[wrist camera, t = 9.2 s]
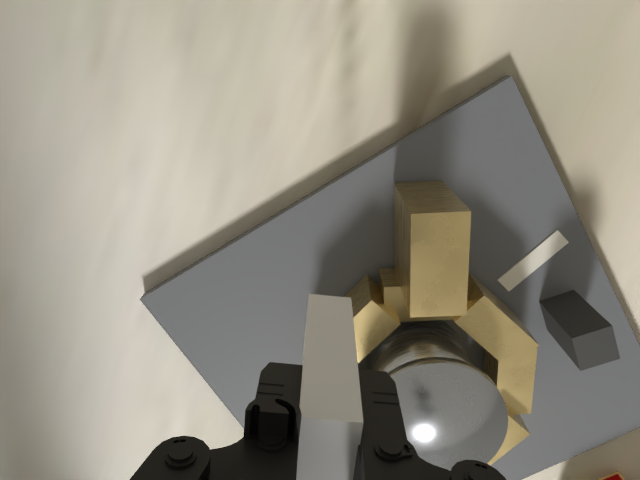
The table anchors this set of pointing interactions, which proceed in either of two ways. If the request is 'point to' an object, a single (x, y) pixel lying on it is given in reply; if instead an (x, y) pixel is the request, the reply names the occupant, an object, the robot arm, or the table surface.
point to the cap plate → (378, 252)
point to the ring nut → (446, 296)
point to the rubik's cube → (613, 476)
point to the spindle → (442, 394)
